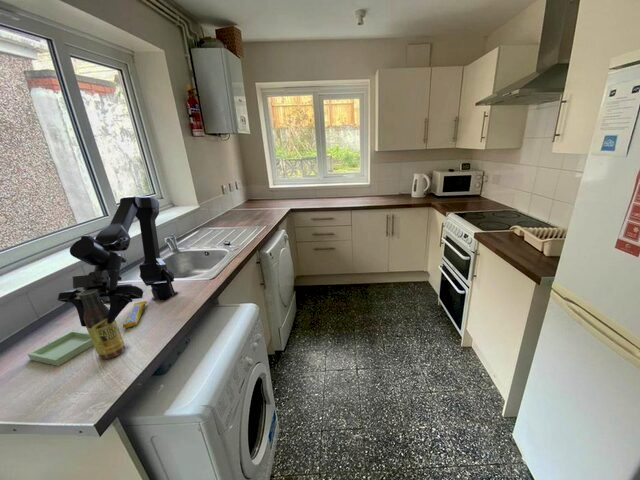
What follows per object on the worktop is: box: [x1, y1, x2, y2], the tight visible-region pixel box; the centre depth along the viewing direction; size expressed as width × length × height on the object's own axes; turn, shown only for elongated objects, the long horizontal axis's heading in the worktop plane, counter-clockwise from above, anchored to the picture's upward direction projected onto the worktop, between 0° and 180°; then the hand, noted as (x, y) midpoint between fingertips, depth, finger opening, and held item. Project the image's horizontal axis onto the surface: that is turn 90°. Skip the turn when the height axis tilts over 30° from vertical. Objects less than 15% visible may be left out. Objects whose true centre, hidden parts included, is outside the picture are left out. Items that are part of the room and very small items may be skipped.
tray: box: [27, 330, 94, 367], centre depth 85 cm, size 12×12×2 cm
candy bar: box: [122, 300, 148, 329], centre depth 101 cm, size 17×4×2 cm, turn 24°
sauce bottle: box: [79, 289, 126, 360], centre depth 79 cm, size 6×6×20 cm
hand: (96, 324), depth 78 cm, fingers closed on sauce bottle, 6 cm apart
